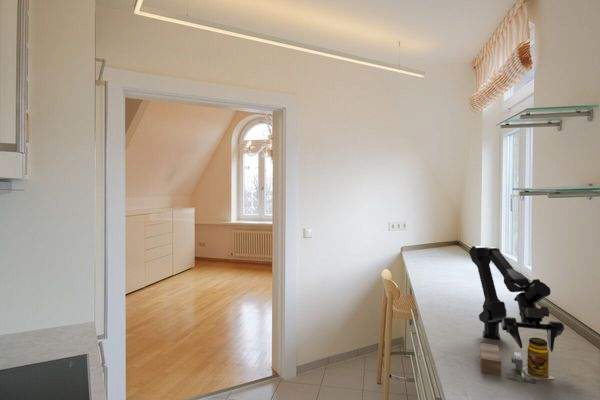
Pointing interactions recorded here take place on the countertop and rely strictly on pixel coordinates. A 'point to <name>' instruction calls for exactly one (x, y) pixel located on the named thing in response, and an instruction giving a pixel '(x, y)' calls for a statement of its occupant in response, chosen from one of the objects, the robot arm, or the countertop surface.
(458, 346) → the countertop surface
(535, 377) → the condiment
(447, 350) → the countertop surface
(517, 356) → the plunger
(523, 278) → the robot arm
